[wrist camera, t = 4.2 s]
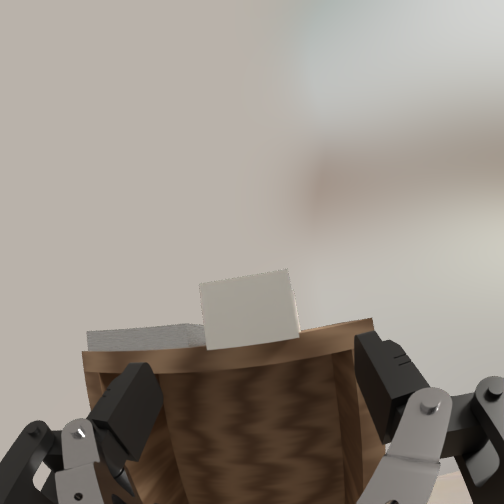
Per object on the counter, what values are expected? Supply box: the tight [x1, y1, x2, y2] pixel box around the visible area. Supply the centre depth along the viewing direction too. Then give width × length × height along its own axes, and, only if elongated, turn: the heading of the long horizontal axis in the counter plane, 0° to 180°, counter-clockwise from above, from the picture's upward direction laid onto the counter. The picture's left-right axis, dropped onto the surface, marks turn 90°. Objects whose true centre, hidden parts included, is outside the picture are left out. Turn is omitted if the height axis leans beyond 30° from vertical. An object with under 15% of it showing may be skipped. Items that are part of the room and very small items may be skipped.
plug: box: [199, 269, 301, 350], centre depth 22 cm, size 5×22×4 cm, turn 172°
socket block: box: [87, 324, 206, 351], centre depth 27 cm, size 11×12×2 cm
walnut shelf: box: [82, 318, 385, 504], centre depth 22 cm, size 26×14×32 cm, turn 82°
